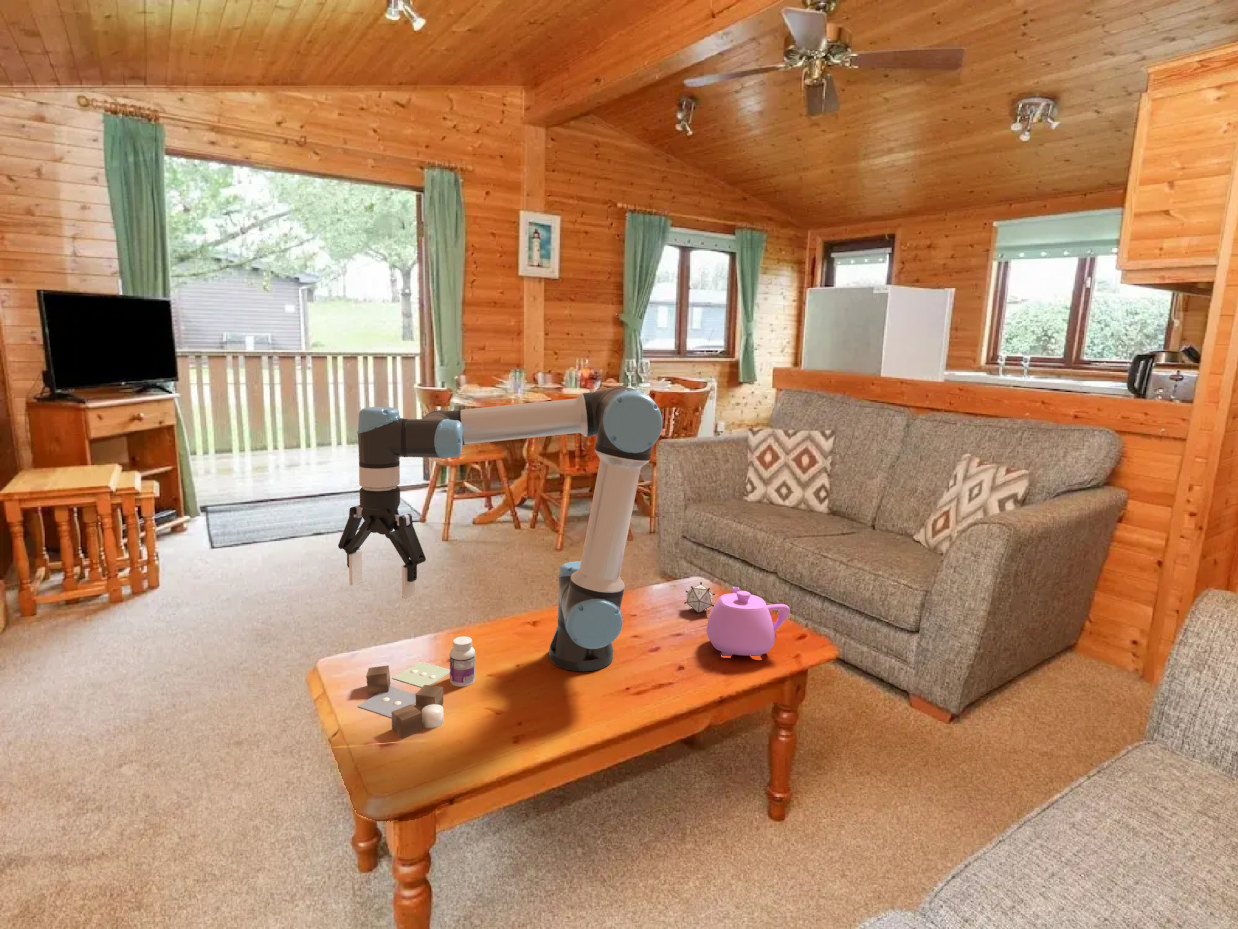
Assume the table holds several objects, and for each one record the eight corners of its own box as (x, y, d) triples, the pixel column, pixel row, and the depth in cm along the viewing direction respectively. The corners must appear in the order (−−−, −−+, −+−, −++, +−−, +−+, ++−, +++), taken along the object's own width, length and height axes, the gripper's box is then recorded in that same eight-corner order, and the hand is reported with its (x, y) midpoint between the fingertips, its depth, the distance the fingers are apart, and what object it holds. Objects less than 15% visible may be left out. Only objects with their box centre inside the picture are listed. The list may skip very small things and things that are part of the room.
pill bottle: (451, 675, 151) (451, 634, 150) (476, 675, 152) (476, 634, 150) (447, 688, 146) (447, 645, 144) (473, 688, 147) (473, 645, 145)
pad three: (452, 672, 153) (452, 670, 153) (425, 689, 145) (425, 688, 145) (420, 662, 157) (420, 661, 156) (392, 679, 148) (392, 678, 148)
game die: (693, 626, 193) (675, 601, 189) (695, 605, 200) (678, 581, 196) (721, 616, 189) (704, 591, 186) (723, 595, 196) (706, 570, 193)
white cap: (447, 721, 134) (447, 707, 133) (434, 732, 130) (434, 717, 129) (431, 716, 135) (431, 702, 135) (417, 726, 132) (417, 712, 131)
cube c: (390, 683, 146) (388, 665, 146) (388, 691, 142) (386, 673, 142) (370, 685, 145) (368, 668, 145) (368, 694, 142) (366, 676, 141)
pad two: (424, 698, 141) (424, 696, 141) (393, 719, 133) (393, 717, 133) (389, 688, 145) (389, 686, 145) (357, 707, 137) (357, 706, 137)
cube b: (411, 723, 132) (422, 732, 130) (391, 731, 130) (402, 740, 127) (411, 704, 132) (422, 712, 129) (391, 711, 129) (402, 720, 126)
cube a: (443, 705, 139) (443, 687, 139) (435, 715, 136) (434, 697, 135) (424, 703, 140) (424, 684, 139) (415, 713, 136) (415, 694, 135)
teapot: (776, 632, 182) (780, 578, 179) (792, 668, 162) (798, 607, 160) (701, 628, 182) (705, 574, 180) (708, 663, 163) (713, 603, 160)
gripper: (443, 491, 133) (443, 595, 137) (346, 475, 143) (349, 573, 147) (417, 498, 126) (418, 608, 130) (317, 481, 136) (320, 584, 140)
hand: (381, 590), depth 138 cm, fingers open, 13 cm apart
